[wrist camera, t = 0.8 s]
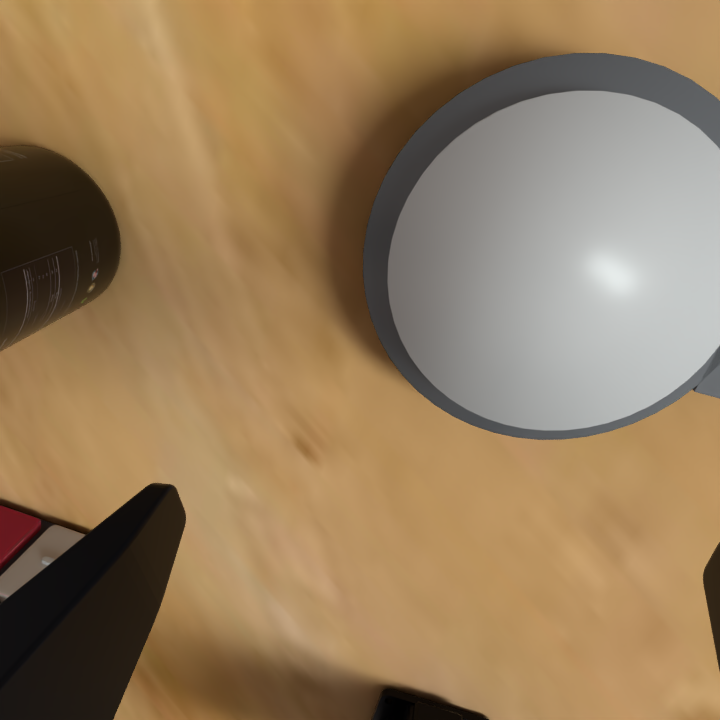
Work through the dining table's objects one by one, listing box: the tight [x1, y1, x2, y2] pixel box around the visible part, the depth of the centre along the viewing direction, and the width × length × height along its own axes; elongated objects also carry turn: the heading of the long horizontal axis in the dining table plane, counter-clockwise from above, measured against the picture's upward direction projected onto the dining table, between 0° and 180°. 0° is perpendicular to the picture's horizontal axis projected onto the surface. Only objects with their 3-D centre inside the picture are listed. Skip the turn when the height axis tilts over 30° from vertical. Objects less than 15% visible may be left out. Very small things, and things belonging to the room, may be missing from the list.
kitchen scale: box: [363, 53, 720, 440], centre depth 19 cm, size 13×16×4 cm
